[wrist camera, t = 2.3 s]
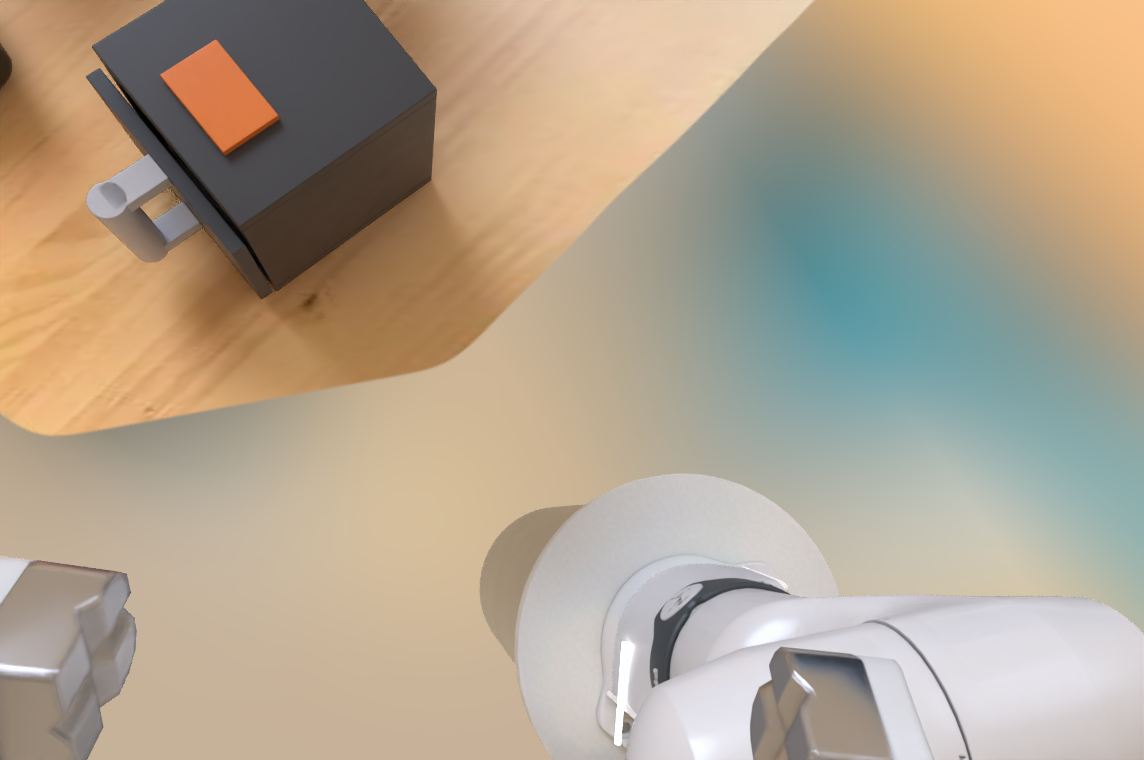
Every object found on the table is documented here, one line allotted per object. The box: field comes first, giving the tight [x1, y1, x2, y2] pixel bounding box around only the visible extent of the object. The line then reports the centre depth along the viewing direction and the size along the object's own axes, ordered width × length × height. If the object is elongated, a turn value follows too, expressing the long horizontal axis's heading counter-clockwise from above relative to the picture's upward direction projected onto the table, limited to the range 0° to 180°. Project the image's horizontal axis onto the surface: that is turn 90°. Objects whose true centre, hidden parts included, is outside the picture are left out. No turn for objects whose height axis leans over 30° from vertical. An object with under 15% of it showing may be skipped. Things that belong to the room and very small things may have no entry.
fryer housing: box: [92, 0, 437, 291], centre depth 64 cm, size 15×14×17 cm
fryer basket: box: [86, 68, 272, 299], centre depth 64 cm, size 20×14×12 cm
